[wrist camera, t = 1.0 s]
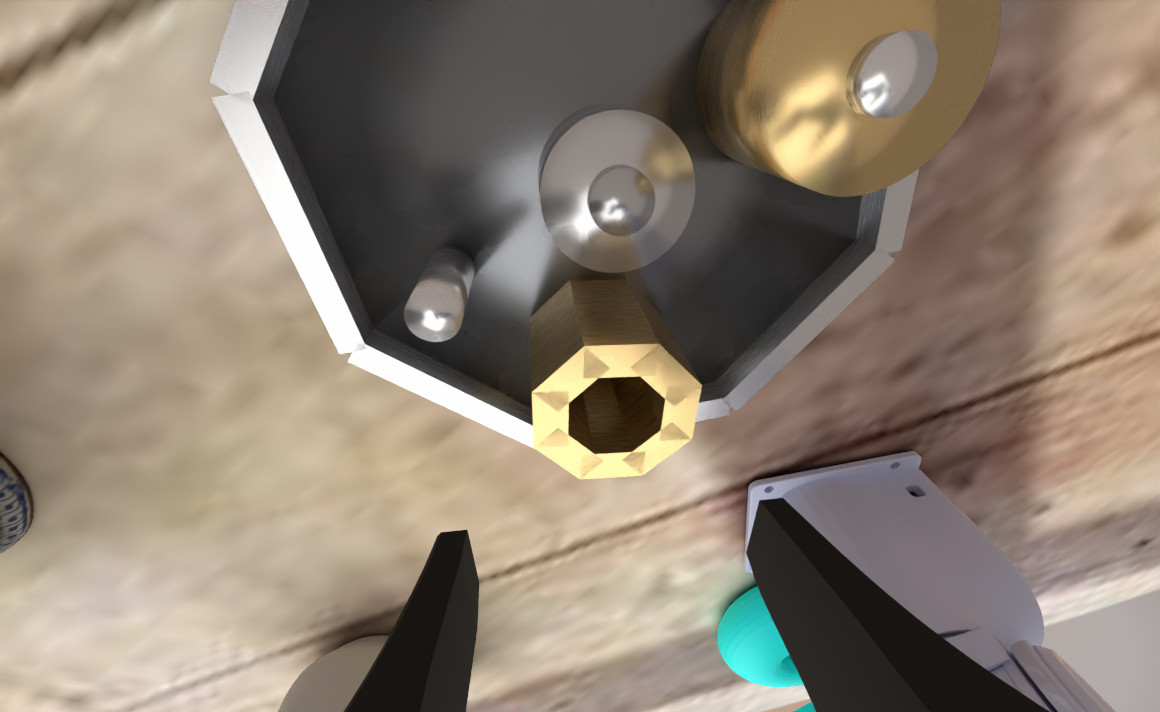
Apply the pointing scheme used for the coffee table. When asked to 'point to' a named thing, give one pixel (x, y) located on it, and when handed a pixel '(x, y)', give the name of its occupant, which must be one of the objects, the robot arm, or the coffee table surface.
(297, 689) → the teacup
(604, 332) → the gear
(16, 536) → the decorative vase
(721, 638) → the donuts
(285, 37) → the tray
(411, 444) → the coffee table surface
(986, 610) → the robot arm
